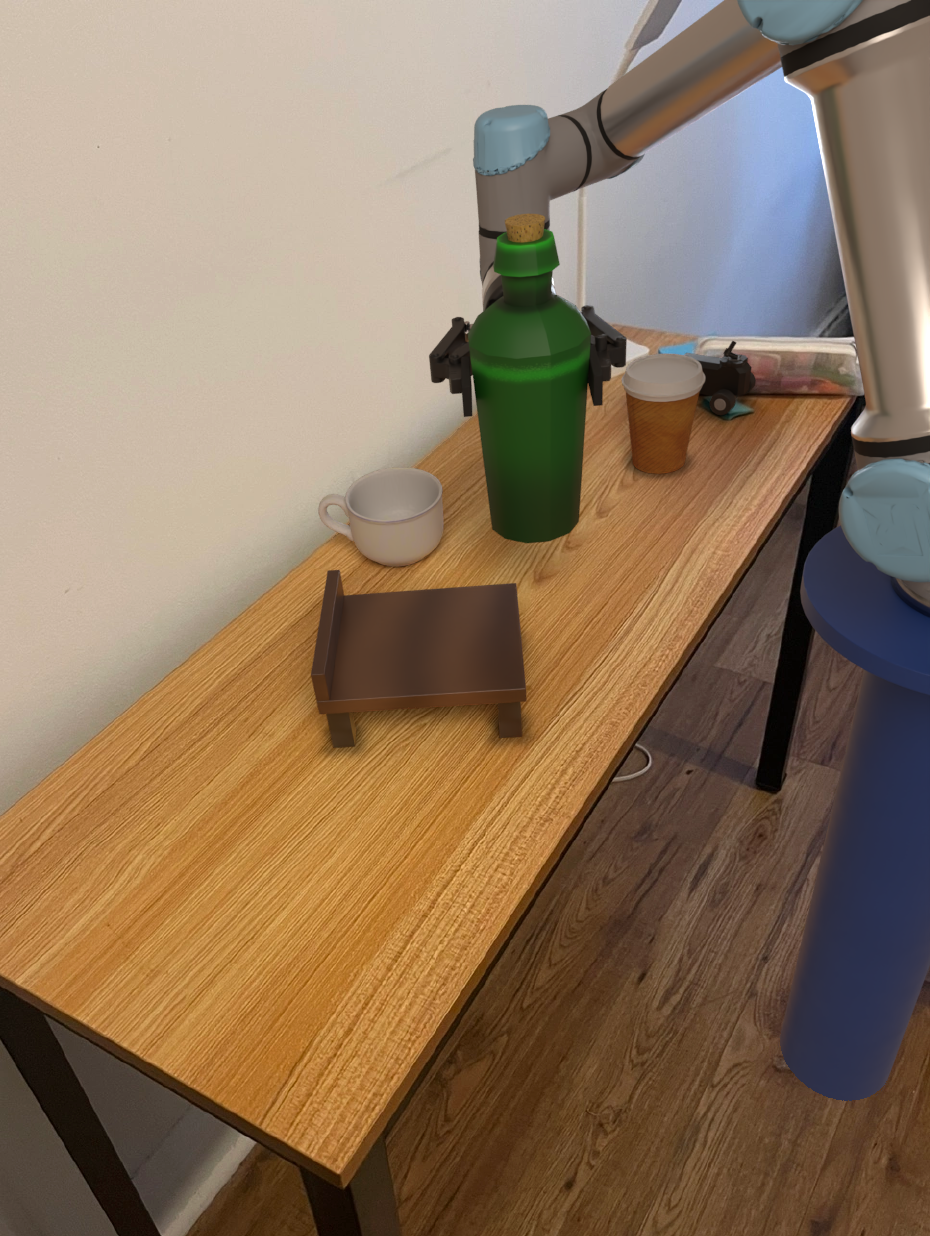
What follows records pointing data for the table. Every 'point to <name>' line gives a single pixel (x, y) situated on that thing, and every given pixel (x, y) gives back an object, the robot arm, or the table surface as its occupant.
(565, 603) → the table surface
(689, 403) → the disposable coffee cup
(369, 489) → the teacup
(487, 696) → the shelf
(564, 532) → the bottle
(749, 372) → the toy vehicle
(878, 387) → the robot arm
